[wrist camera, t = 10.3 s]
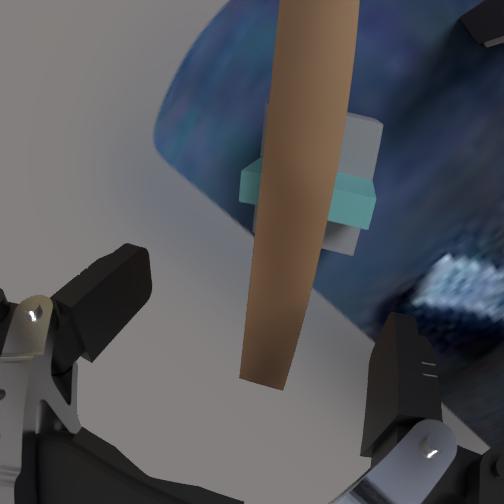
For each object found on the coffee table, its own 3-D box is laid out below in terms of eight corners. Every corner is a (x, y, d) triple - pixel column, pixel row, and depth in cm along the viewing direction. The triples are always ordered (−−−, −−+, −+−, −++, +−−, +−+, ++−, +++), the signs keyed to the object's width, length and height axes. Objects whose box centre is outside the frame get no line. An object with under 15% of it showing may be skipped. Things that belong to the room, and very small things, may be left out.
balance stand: (375, 118, 23) (391, 130, 14) (353, 221, 28) (351, 285, 19) (285, 101, 25) (247, 104, 16) (273, 203, 30) (234, 256, 21)
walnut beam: (358, 17, 12) (360, -14, 8) (298, 339, 23) (283, 390, 19) (302, 9, 12) (282, -22, 8) (260, 330, 24) (239, 378, 19)
